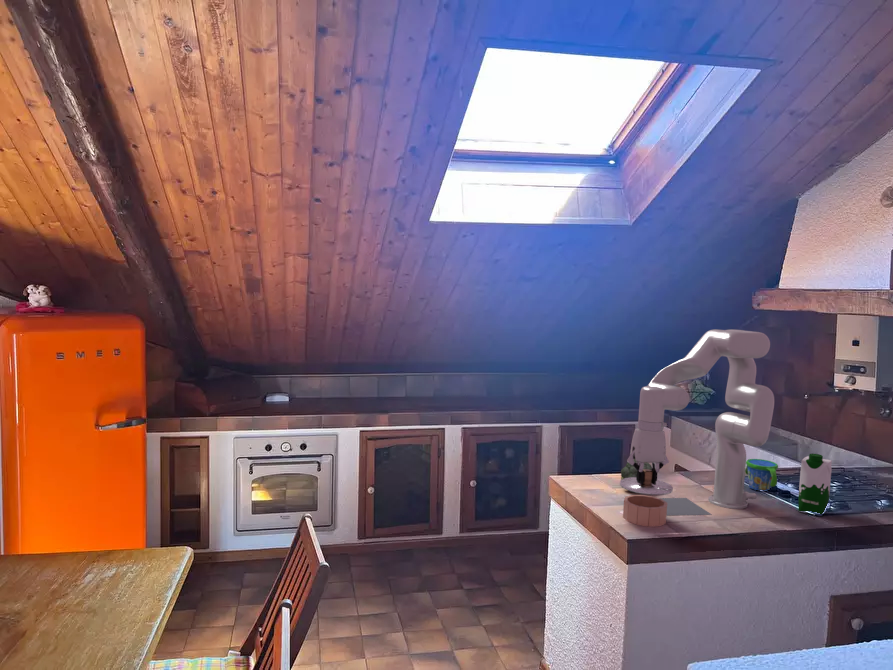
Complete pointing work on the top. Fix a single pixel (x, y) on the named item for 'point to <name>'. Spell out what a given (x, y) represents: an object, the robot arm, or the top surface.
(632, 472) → the vegetable
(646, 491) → the lid
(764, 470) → the snack cup
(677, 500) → the mat
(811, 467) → the milk carton
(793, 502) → the top surface
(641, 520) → the bowl
